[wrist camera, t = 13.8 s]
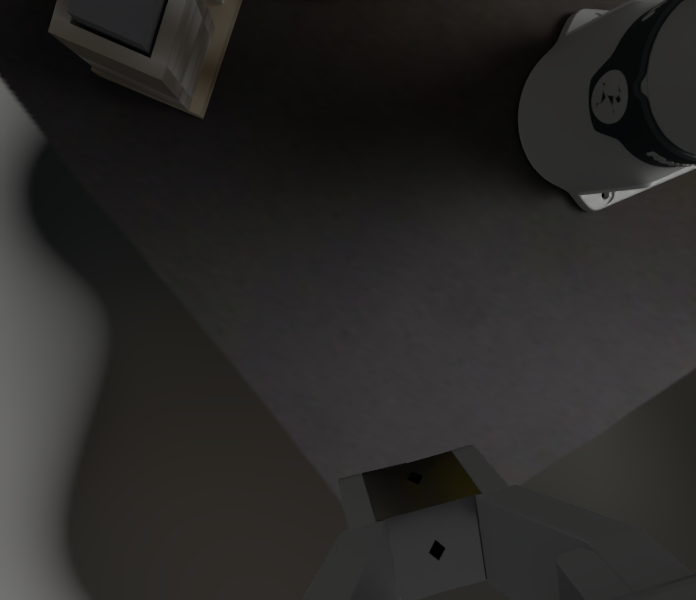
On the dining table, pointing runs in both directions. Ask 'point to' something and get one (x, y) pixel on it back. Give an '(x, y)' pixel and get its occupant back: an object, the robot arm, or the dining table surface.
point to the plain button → (122, 21)
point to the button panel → (161, 52)
